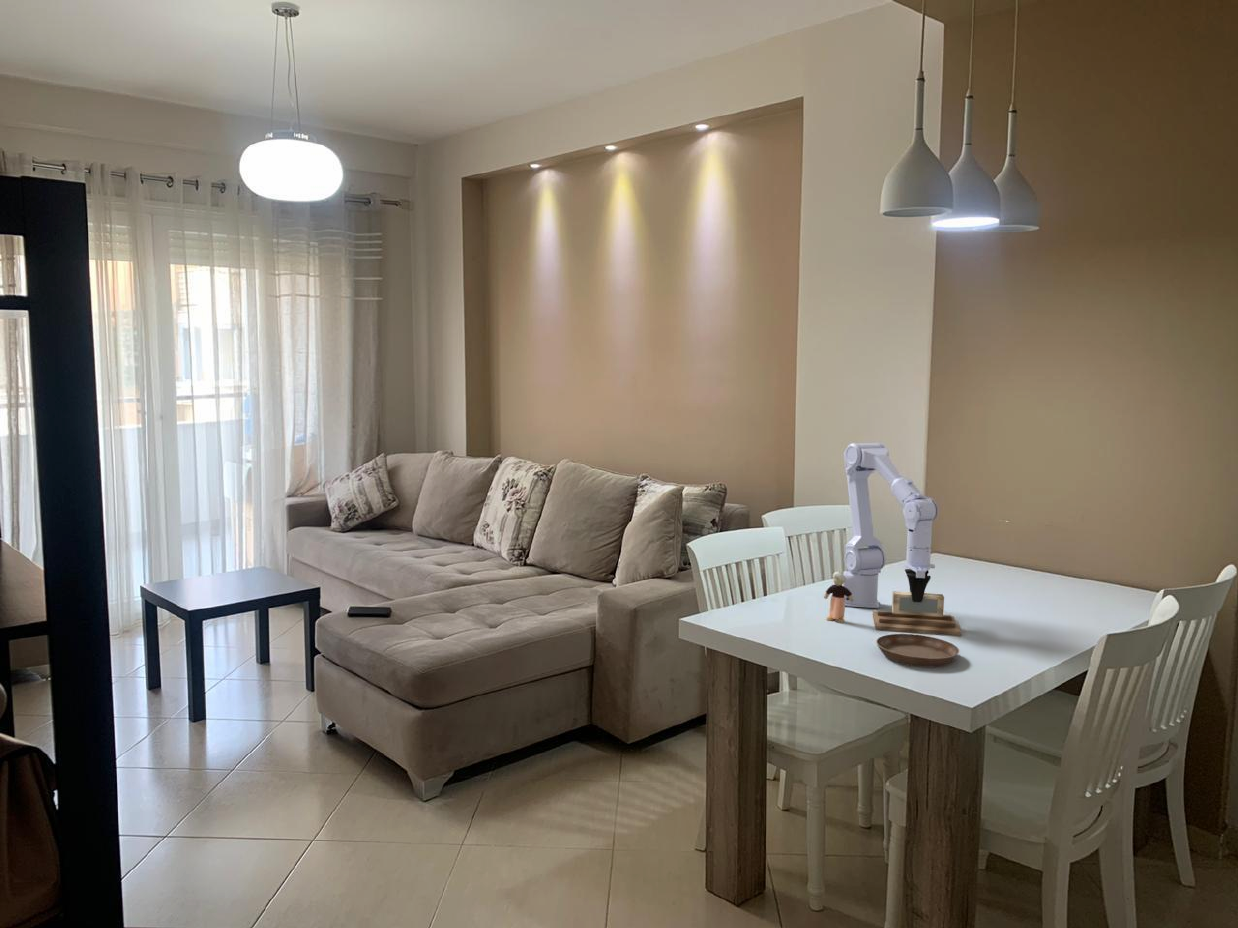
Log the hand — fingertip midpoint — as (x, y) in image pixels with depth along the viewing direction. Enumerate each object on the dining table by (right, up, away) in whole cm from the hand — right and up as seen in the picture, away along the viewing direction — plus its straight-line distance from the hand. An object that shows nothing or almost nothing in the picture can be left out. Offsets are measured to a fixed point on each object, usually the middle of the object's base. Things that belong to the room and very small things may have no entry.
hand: (916, 599), depth 228 cm
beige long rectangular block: (0, -4, 0) cm, 4 cm away
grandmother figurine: (-19, -6, +4) cm, 20 cm away
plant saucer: (-8, -10, -24) cm, 27 cm away
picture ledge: (0, -6, +1) cm, 6 cm away
